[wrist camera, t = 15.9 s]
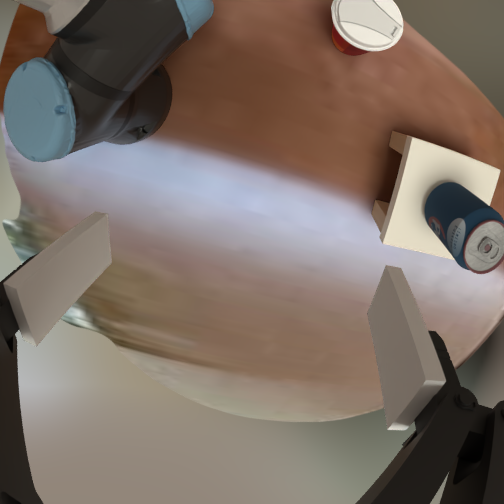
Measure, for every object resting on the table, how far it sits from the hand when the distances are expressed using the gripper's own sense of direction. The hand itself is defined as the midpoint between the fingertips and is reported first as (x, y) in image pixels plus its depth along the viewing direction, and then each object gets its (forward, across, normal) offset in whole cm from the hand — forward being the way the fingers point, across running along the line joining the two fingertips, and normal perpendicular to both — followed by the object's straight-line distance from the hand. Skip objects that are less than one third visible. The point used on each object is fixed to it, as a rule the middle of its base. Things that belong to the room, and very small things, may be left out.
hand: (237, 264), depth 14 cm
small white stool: (+35, +22, -1) cm, 41 cm away
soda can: (+25, +22, -1) cm, 33 cm away
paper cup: (+35, +7, +18) cm, 40 cm away
